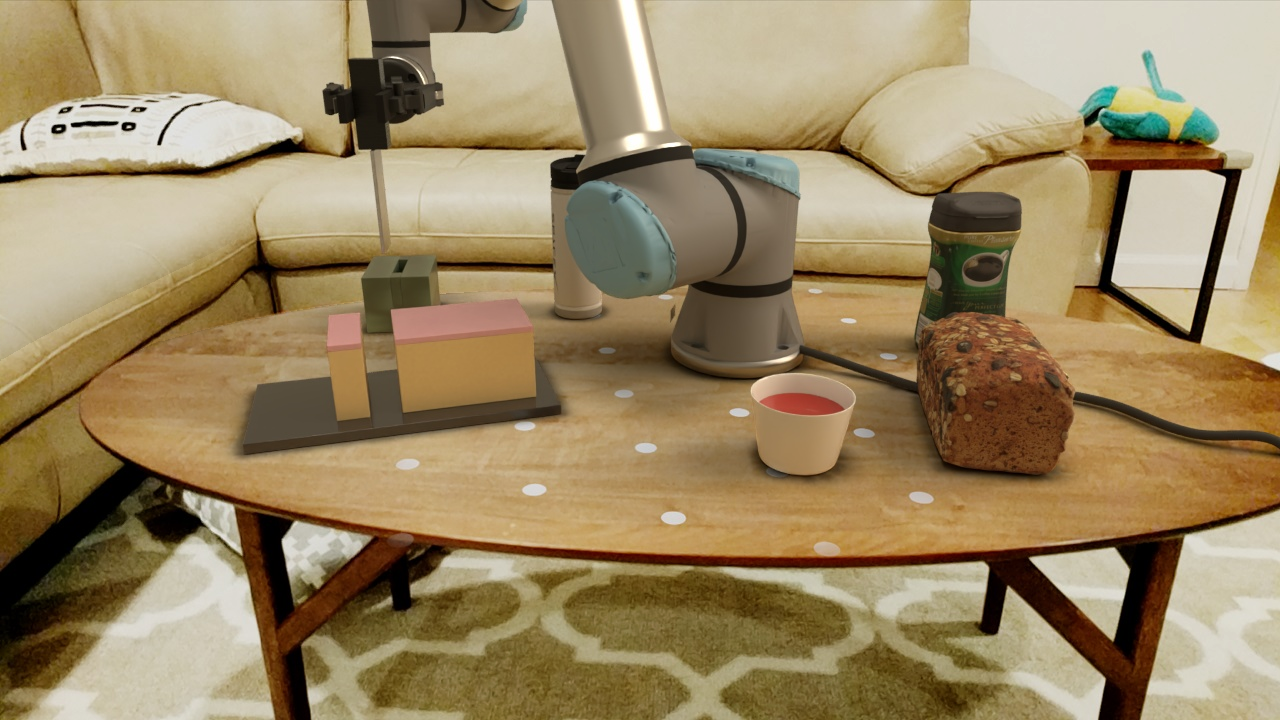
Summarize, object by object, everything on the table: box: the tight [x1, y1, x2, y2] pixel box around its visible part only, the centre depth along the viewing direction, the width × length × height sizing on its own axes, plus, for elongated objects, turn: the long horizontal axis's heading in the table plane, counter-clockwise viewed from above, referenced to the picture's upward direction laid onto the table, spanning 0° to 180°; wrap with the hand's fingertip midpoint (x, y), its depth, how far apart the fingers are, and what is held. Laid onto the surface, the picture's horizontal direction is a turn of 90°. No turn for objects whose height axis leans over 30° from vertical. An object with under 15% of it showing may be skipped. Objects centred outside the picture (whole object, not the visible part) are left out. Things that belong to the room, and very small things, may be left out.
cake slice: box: [326, 312, 370, 421], centre depth 84 cm, size 3×9×8 cm, turn 17°
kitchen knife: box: [347, 57, 392, 255], centre depth 92 cm, size 3×4×20 cm
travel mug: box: [549, 153, 603, 320], centre depth 111 cm, size 6×7×20 cm
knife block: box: [360, 254, 441, 334], centre depth 110 cm, size 8×10×7 cm
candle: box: [749, 372, 857, 476], centre depth 76 cm, size 9×9×6 cm
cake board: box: [242, 354, 562, 455], centre depth 87 cm, size 29×14×1 cm, turn 107°
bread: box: [915, 312, 1076, 476], centre depth 81 cm, size 19×11×10 cm, turn 170°
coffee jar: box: [913, 191, 1023, 346], centre depth 99 cm, size 10×8×19 cm
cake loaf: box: [391, 297, 536, 413], centre depth 87 cm, size 13×9×8 cm
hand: (361, 109), depth 85 cm, fingers closed on kitchen knife, 3 cm apart
